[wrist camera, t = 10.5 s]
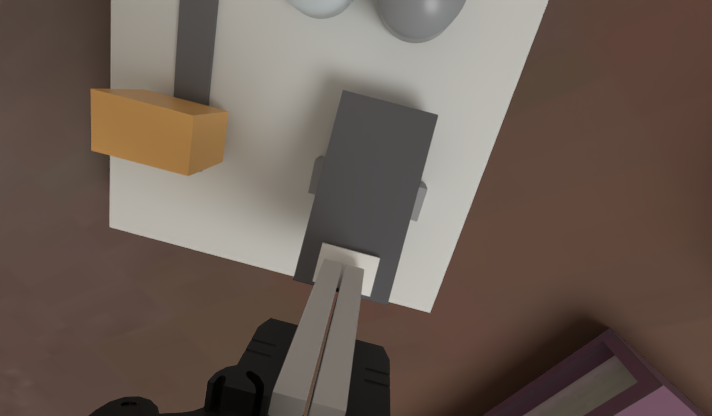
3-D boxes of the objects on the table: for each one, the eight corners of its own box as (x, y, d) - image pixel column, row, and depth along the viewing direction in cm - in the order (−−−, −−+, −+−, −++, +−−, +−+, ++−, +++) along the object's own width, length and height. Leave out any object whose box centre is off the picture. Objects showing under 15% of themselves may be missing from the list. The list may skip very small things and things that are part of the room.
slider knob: (144, 89, 16) (90, 88, 13) (228, 111, 16) (193, 115, 13) (142, 140, 17) (91, 150, 14) (222, 161, 17) (188, 176, 14)
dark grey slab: (344, 98, 15) (342, 88, 14) (432, 121, 15) (439, 113, 14) (298, 273, 15) (292, 280, 14) (385, 297, 15) (387, 306, 14)
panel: (162, -152, 16) (88, -230, 12) (546, -53, 16) (597, -101, 12) (146, 209, 22) (93, 234, 18) (424, 283, 22) (432, 325, 18)
